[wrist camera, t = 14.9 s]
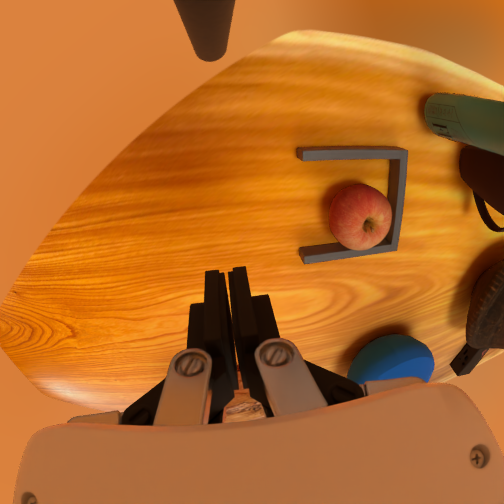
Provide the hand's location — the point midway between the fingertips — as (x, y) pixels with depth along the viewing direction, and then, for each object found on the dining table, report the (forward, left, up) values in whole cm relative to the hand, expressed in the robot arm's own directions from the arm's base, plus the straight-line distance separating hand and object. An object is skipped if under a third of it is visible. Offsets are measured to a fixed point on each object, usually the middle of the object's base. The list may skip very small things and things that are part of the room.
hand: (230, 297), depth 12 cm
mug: (+1, +39, -23) cm, 46 cm away
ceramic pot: (+27, +55, -23) cm, 65 cm away
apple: (+6, +16, -23) cm, 29 cm away
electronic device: (+52, +62, -23) cm, 84 cm away
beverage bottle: (-8, +30, -23) cm, 39 cm away
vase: (+38, +26, -23) cm, 52 cm away
